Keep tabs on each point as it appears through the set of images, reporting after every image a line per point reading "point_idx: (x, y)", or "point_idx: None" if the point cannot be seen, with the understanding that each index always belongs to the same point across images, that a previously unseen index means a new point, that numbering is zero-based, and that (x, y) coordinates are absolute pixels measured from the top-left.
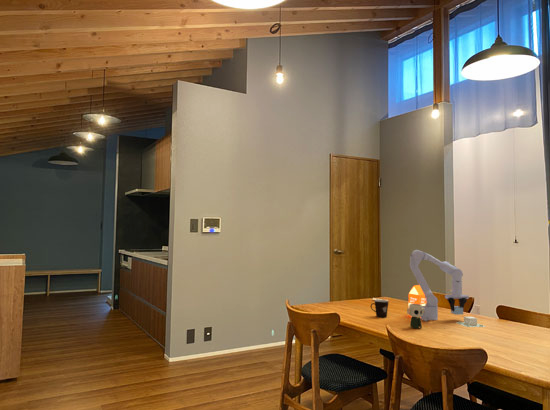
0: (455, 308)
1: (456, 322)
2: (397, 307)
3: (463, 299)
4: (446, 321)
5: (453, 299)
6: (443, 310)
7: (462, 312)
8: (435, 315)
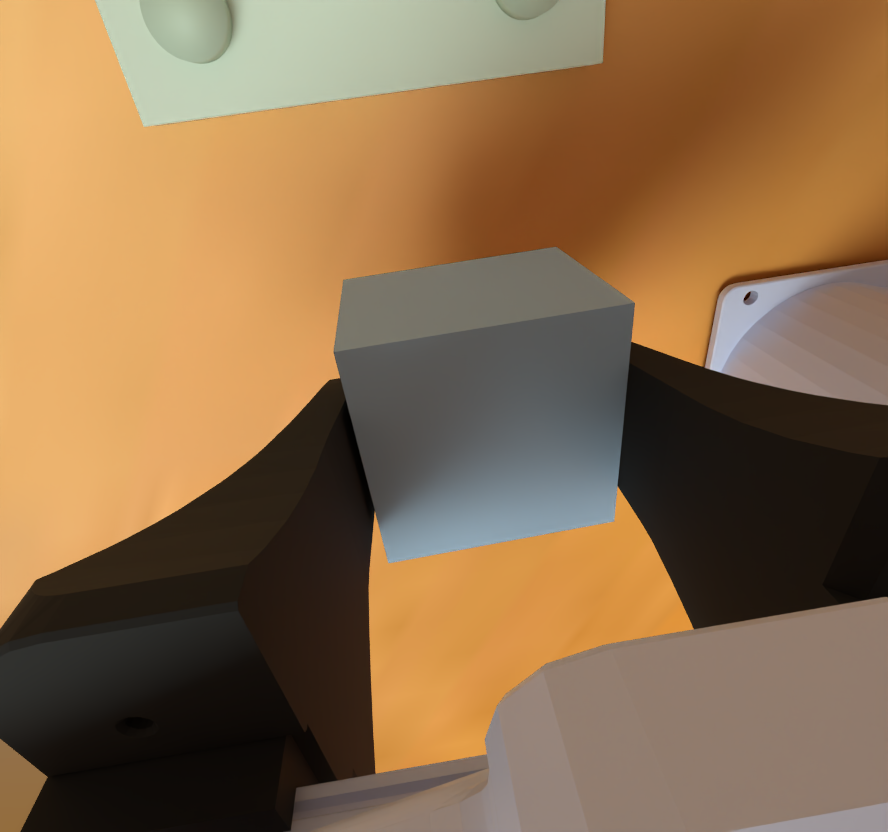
0: (621, 296)
1: (575, 55)
2: None
3: (236, 639)
4: None
5: (857, 601)
6: None
7: (364, 291)
8: (885, 319)
